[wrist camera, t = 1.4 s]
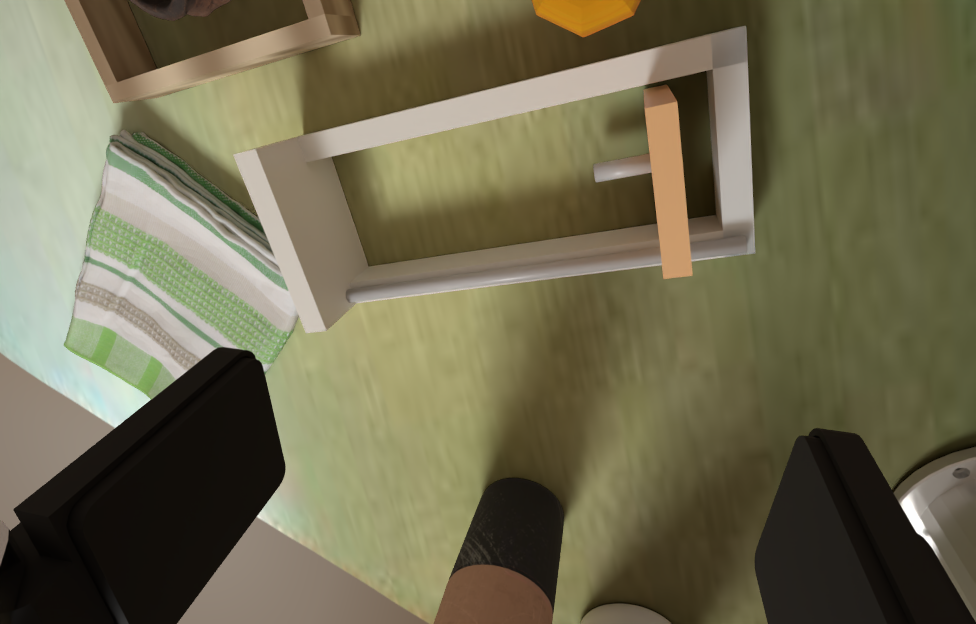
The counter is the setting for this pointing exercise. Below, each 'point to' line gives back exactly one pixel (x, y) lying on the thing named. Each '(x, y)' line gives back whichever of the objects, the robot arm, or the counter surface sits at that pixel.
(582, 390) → the counter surface
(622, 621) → the fruit juice
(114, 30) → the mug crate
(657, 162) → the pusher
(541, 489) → the travel mug
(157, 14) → the pottery mug
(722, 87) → the frame
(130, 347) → the dish towel
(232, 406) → the robot arm
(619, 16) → the carrot
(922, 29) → the counter surface
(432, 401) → the counter surface
